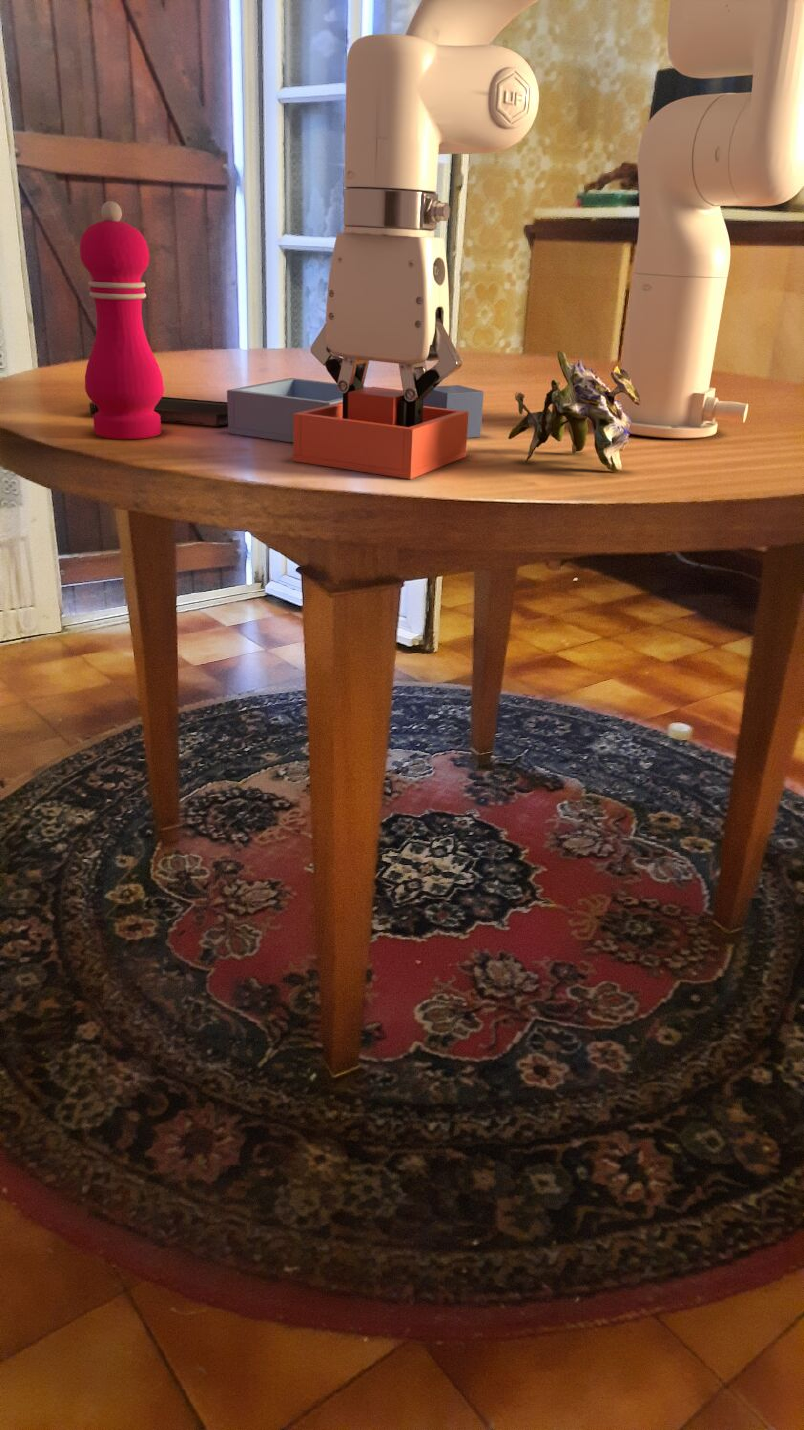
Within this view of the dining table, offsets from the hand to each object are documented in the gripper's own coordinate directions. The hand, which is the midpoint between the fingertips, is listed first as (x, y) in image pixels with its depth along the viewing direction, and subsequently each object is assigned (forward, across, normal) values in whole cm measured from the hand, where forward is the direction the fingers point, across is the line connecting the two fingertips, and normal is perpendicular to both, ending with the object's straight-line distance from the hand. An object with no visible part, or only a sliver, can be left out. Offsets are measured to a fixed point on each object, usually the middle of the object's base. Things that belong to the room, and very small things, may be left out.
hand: (381, 439), depth 91 cm
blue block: (+2, 0, -15) cm, 15 cm away
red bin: (+2, 0, 0) cm, 2 cm away
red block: (0, 0, 0) cm, 0 cm away
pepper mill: (+2, +25, +5) cm, 25 cm away
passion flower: (+2, -15, -8) cm, 17 cm away
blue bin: (+2, +12, -7) cm, 14 cm away
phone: (+2, +28, -5) cm, 28 cm away
